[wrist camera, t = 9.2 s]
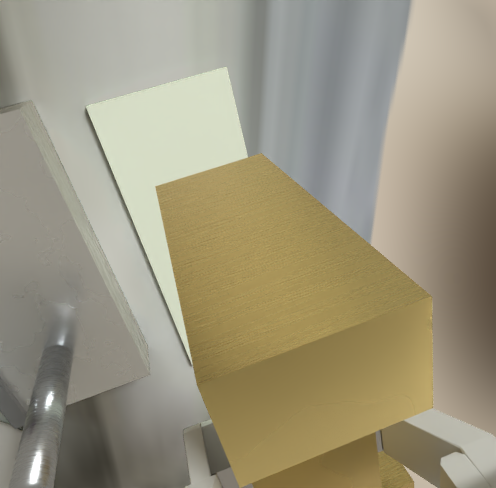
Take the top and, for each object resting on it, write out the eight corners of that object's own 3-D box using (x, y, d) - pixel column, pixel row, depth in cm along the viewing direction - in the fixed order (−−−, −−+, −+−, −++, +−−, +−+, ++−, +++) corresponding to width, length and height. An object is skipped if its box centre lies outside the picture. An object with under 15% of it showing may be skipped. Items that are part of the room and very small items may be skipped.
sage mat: (86, 105, 23) (85, 106, 22) (225, 66, 24) (226, 67, 23) (191, 362, 33) (192, 366, 32) (286, 327, 34) (288, 330, 33)
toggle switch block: (-150, 149, 21) (-418, 265, 10) (31, 99, 22) (-50, 160, 12) (25, 390, 30) (-27, 581, 19) (147, 346, 31) (160, 504, 20)
